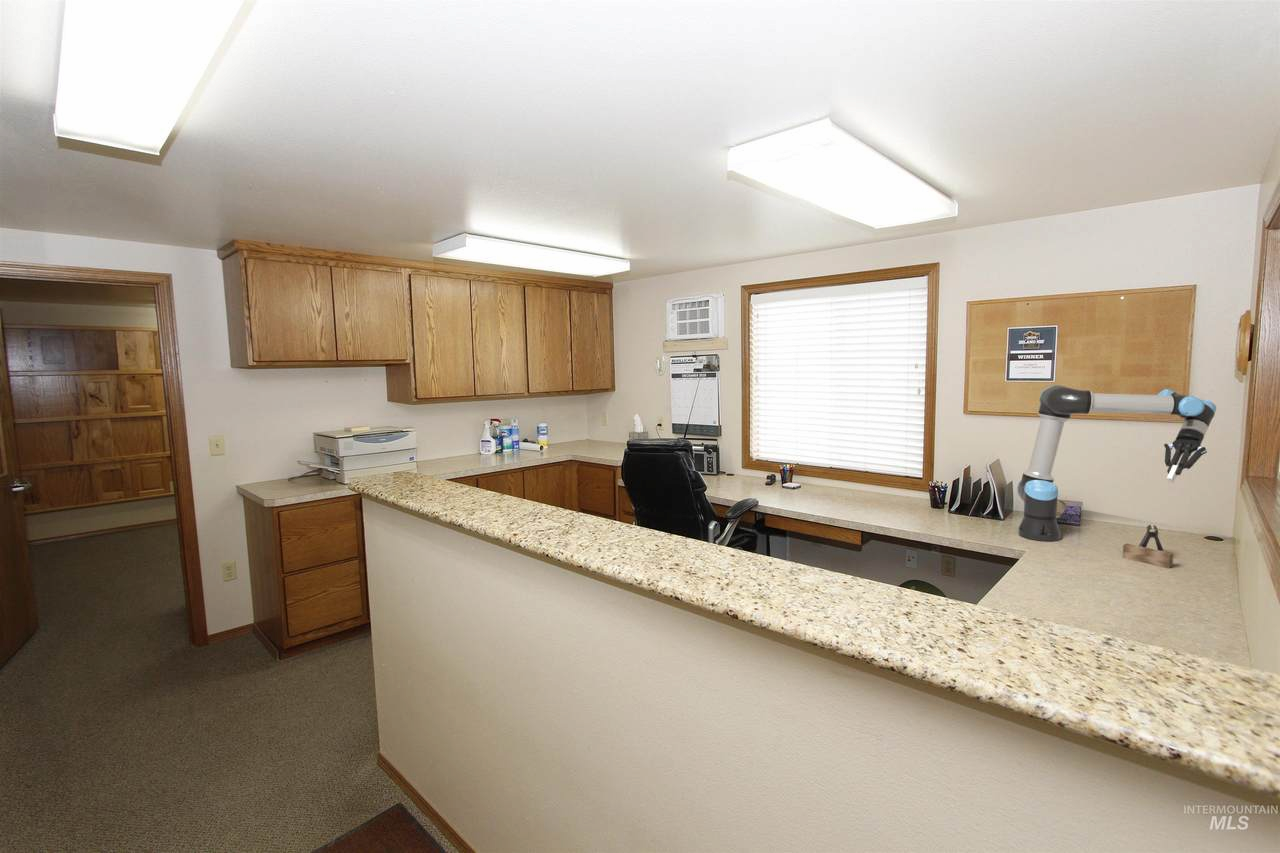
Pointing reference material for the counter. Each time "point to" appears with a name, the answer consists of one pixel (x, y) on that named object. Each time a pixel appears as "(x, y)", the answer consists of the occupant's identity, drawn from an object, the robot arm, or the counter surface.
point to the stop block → (1148, 555)
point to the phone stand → (1151, 535)
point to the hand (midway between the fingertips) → (1170, 480)
